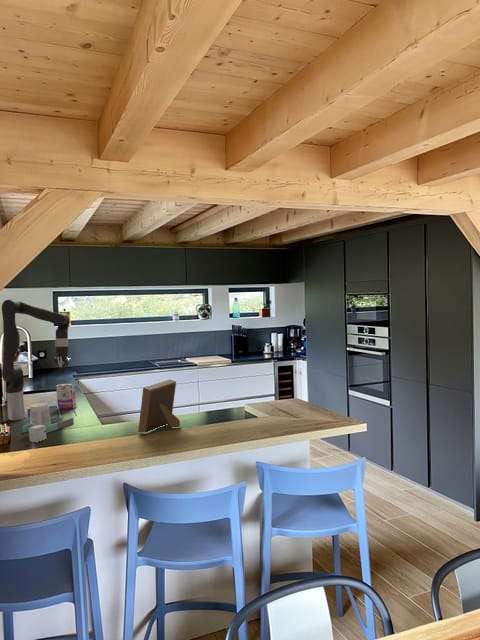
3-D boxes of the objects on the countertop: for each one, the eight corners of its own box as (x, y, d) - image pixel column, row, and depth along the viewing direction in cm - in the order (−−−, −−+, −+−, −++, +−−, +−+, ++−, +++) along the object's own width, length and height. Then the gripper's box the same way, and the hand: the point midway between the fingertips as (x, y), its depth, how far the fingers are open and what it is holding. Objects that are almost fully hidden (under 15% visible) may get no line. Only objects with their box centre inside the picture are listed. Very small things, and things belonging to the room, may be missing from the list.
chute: (23, 432, 266) (22, 426, 265) (56, 421, 285) (55, 415, 284) (40, 434, 258) (40, 428, 258) (73, 423, 277) (73, 417, 276)
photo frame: (138, 434, 245) (134, 386, 244) (164, 423, 264) (161, 378, 263) (160, 437, 238) (157, 388, 236) (186, 425, 257) (183, 380, 255)
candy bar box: (77, 407, 320) (74, 383, 319) (73, 409, 315) (71, 384, 314) (61, 407, 322) (59, 383, 321) (57, 409, 317) (55, 385, 316)
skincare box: (37, 442, 244) (35, 428, 243) (29, 441, 247) (28, 427, 246) (47, 439, 249) (45, 425, 249) (39, 438, 252) (38, 424, 252)
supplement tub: (51, 426, 273) (49, 401, 272) (51, 431, 264) (48, 405, 263) (33, 429, 270) (30, 404, 269) (32, 434, 261) (29, 407, 260)
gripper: (49, 345, 294) (50, 373, 295) (64, 346, 288) (64, 374, 289) (59, 344, 301) (59, 371, 302) (74, 345, 295) (74, 373, 296)
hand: (62, 373), depth 295 cm, fingers closed
